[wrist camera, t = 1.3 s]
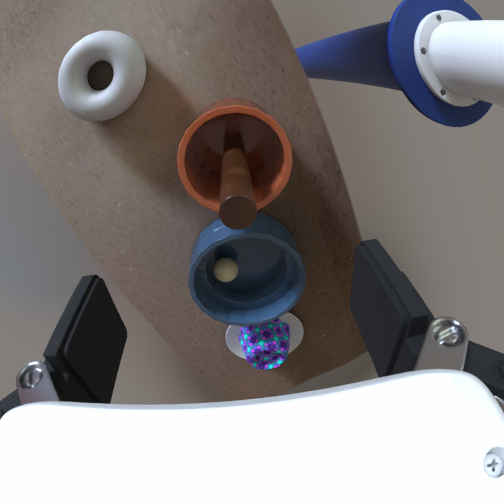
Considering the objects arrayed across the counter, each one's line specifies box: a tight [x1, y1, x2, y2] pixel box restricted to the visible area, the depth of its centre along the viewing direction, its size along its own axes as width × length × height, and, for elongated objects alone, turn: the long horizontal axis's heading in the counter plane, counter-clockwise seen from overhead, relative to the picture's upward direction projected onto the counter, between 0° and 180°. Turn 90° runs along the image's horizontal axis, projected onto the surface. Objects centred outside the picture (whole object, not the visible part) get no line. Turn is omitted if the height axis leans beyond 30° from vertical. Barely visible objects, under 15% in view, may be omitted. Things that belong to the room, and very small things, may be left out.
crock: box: [177, 98, 293, 213], centre depth 28 cm, size 9×9×9 cm
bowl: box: [188, 213, 306, 326], centre depth 38 cm, size 13×13×6 cm
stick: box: [219, 132, 257, 230], centre depth 24 cm, size 2×2×18 cm
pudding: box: [226, 312, 304, 370], centre depth 45 cm, size 12×12×5 cm
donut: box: [58, 31, 146, 121], centre depth 25 cm, size 10×4×10 cm
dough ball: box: [213, 257, 238, 282], centre depth 38 cm, size 3×3×3 cm
